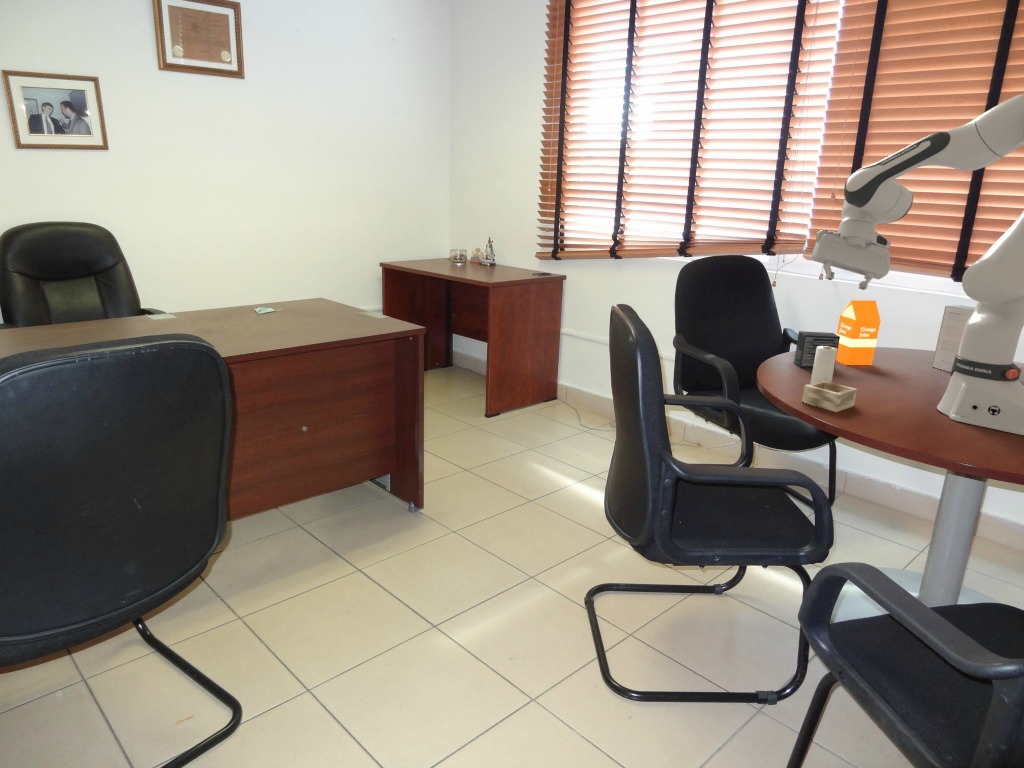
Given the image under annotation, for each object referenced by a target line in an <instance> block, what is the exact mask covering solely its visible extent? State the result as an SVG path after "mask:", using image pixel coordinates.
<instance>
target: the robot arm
mask: <svg viewBox="0 0 1024 768" xmlns="http://www.w3.org/2000/svg"><path fill="white" fill-rule="evenodd" d="M1022 146H1024V93H1020V94H1017V95H1015V96H1014V97H1011V98H1009V99H1007V100H1005V101H1003V102H1001V103H999V104H997V105H995V106H993V107H991V108H990V109H988V110H987V111H985V112H983V113H982V114H981V115H980V114H979V116H977V117H975V118H974V119H972V120H971V121H969V122H967V123H965V124H963V125H960V126H958V127H955V128H954V129H953V128H952V129H950V130H946V131H938V132H935V133H931V134H929V135H927V136H924V137H921V138H920V139H919V140H916V141H915V142H912V143H911V144H909V145H907V146H905V147H904V148H901V149H899V150H897V151H896V152H893V153H892V154H890V155H888V156H887V157H884V158H882V159H881V160H878V161H876V162H875V163H871V164H869V165H866V166H863V167H861V168H859V169H857V170H855V171H854V172H853V173H851V174H850V175H849V177H848V178H847V179H846V181H845V183H844V188H843V196H844V200H843V205H842V209H841V221H840V223H839V225H838V228H837V232H836V231H830V230H828V229H825V228H824V229H821V230H819V231H817V233H816V237H815V241H816V242H815V245H814V247H813V250H812V253H811V259H812V261H813V262H816V263H820V264H823V265H822V267H823V271H824V273H825V277H824V278H825V280H828V281H832V280H834V278H835V272H833V270H832V268H831V267H834V268H837V269H840V270H843V271H846V272H851V273H854V274H858V275H861V276H864V277H863V278H864V280H862V281H860V282H859V284H858V289H859V290H863V291H865V290H867V289H868V285H869V283H870V282H871V281H872V280H873V279H875V280H881V279H883V278H884V277H886V276H887V275H888V274H889V271H890V265H891V254H890V250H888V249H890V248H891V244H892V243H891V241H890V240H889V239H888V238H886V237H884V236H883V235H881V234H880V233H879V232H878V231H876V230H875V227H876V226H877V225H886V224H891V223H895V222H898V221H899V220H901V219H904V217H905V216H907V215H908V213H909V211H911V208H912V206H913V202H914V195H913V193H912V191H911V190H909V189H908V188H907V187H906V186H903V184H901V183H899V182H896V181H895V179H899V177H901V176H904V175H906V174H907V173H910V172H911V171H914V170H915V169H918V168H921V167H925V166H939V167H945V168H946V167H947V168H951V169H955V170H959V171H970V172H971V171H977V170H980V169H983V168H985V167H988V166H990V165H992V164H994V163H996V162H997V161H999V160H1001V159H1002V158H1003V157H1005V156H1007V155H1009V154H1010V153H1012V152H1014V151H1015V150H1017V149H1018V148H1021V147H1022ZM961 286H962V289H963V292H964V293H965V294H966V295H967V296H968V297H969V298H970V299H971V300H974V301H976V302H977V303H976V306H975V310H974V311H973V313H972V315H971V317H970V318H969V319H968V321H967V322H966V324H965V326H964V331H963V335H962V339H961V343H960V347H959V351H958V355H956V356H955V359H954V361H953V364H952V368H951V372H950V379H949V382H948V385H947V388H946V390H945V392H944V394H943V396H942V398H941V400H940V401H939V403H938V404H937V406H936V408H937V409H936V410H938V411H939V412H941V413H942V414H944V415H946V416H948V417H949V418H950V419H951V420H953V421H954V422H961V423H965V424H969V425H974V426H979V427H982V428H983V427H984V428H988V429H993V430H997V431H1001V432H1007V433H1011V434H1016V435H1019V436H1020V435H1021V436H1024V384H1022V383H1021V382H1020V381H1019V379H1020V376H1021V373H1022V372H1023V371H1022V370H1023V366H1022V367H1021V366H1020V367H1019V366H1018V365H1016V364H1015V363H1014V358H1015V355H1016V351H1017V347H1018V345H1019V341H1020V336H1021V334H1022V330H1023V328H1024V209H1023V211H1022V212H1021V213H1020V215H1019V216H1018V217H1017V218H1016V220H1014V222H1013V223H1012V224H1011V225H1010V227H1008V229H1007V230H1006V231H1005V232H1004V233H1003V234H1002V235H1001V236H1000V237H998V239H997V240H996V241H995V242H994V243H992V245H991V246H990V247H989V248H988V249H987V250H986V251H985V252H984V253H983V254H982V255H981V256H980V257H979V259H977V260H976V261H975V262H974V263H973V264H970V265H969V267H967V269H966V270H965V271H964V273H963V276H962V280H961Z"/></svg>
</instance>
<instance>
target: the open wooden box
mask: <svg viewBox="0 0 1024 768" xmlns="http://www.w3.org/2000/svg"><path fill="white" fill-rule="evenodd" d="M857 392H858V388H855V387H850V386H847V385H842V384H839V383H835V382H833V381H831V382H828V381H824V380H821V381H818V382H815V383H811V384H810V383H809V384H804V386H803V393H802V399H801V403H802V402H804V403H803V404H806V403H807V404H806V405H809V404H810V406H813V407H816V406H817V408H820V409H824V410H827V411H831V412H834V413H838V412H841V411H844V410H846V409H850V408H853V407H854V406H855V401H856V398H857V397H856V396H857V394H858V393H857Z"/></svg>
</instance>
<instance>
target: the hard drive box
mask: <svg viewBox="0 0 1024 768" xmlns="http://www.w3.org/2000/svg"><path fill="white" fill-rule="evenodd" d="M975 308H976V306H975V307H973V306H969V305H968V306H967V305H961V304H960V305H959V304H958V305H956V304H953V305H945V306H944V310H943V315H942V319H941V325H940V328H939V334H938V338H937V342H936V347H935V352H934V356H933V359H932V360H933V361H932V364H931V365H932V366H931V367H932V368H933V367H935V368H934V369H937V368H938V370H940V369H941V370H940V371H943V370H945V371H944V372H947V373H951V368H952V364H953V361H954V359H955V356H956V355H958V351H959V347H960V343H961V339H962V335H963V331H964V326H965V324H966V322H967V321H968V319H969V318H970V317H971V315H972V313H973V311H974V310H975Z"/></svg>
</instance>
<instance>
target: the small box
mask: <svg viewBox="0 0 1024 768" xmlns="http://www.w3.org/2000/svg"><path fill="white" fill-rule="evenodd" d="M836 334H837V333H834V332H823V331H822V332H821V331H819V332H818V331H805V330H804V331H803V330H799V331H798V335H797V342H796V348H795V355H794V362H793V364H794V365H796V366H797V367H798V368H799V367H800V369H812V368H813V366H814V360H815V354H816V349H817V346H830V347H833V348H836V349H837V352H838V346H839V340H840V336H838V335H836ZM836 358H837V355H836ZM836 363H837V362H836V360H835V365H834V370H836Z"/></svg>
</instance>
